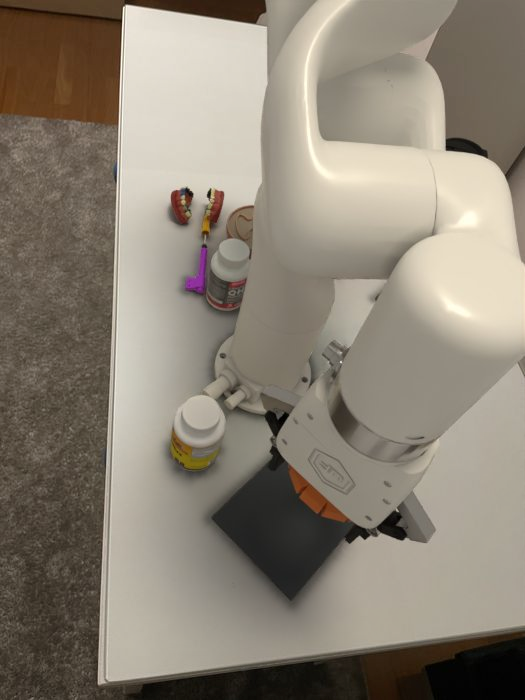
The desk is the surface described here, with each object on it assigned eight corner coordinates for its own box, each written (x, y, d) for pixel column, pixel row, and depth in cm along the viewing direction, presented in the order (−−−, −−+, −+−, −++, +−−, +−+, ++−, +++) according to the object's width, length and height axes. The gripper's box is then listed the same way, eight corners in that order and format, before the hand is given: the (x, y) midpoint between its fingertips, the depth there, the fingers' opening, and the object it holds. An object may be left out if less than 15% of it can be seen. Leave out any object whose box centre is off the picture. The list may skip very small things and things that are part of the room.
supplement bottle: (167, 431, 65) (171, 389, 57) (214, 426, 67) (224, 385, 58) (172, 476, 63) (177, 439, 54) (221, 470, 64) (232, 433, 56)
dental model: (222, 201, 81) (168, 202, 81) (224, 224, 84) (172, 224, 84) (224, 178, 84) (172, 178, 84) (226, 201, 87) (176, 201, 88)
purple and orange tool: (205, 294, 77) (211, 215, 86) (204, 289, 76) (210, 209, 85) (186, 295, 77) (194, 216, 86) (184, 290, 76) (193, 210, 85)
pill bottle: (230, 318, 76) (240, 272, 68) (198, 299, 77) (204, 250, 69) (250, 295, 79) (263, 247, 71) (219, 276, 80) (228, 227, 72)
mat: (291, 601, 58) (291, 600, 57) (211, 517, 61) (211, 517, 61) (358, 520, 64) (359, 519, 63) (282, 448, 67) (282, 447, 67)
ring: (349, 543, 49) (355, 538, 47) (268, 470, 51) (272, 462, 50) (405, 471, 54) (412, 463, 52) (329, 406, 56) (334, 398, 55)
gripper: (250, 349, 36) (219, 454, 50) (472, 542, 31) (369, 598, 46) (320, 292, 40) (273, 405, 54) (527, 456, 35) (416, 532, 49)
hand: (317, 493), depth 50 cm, fingers closed on ring, 8 cm apart
